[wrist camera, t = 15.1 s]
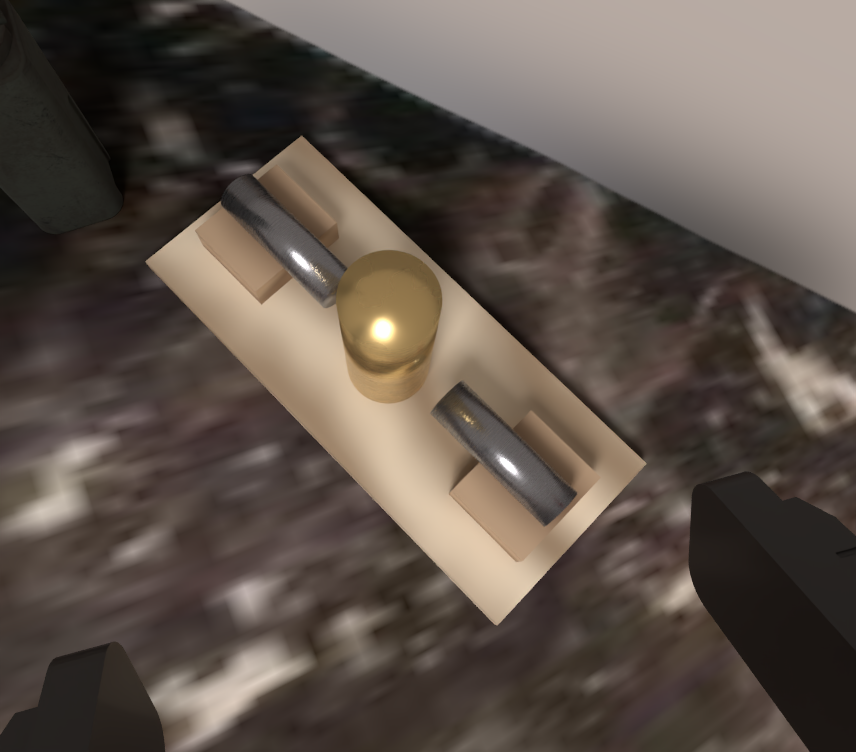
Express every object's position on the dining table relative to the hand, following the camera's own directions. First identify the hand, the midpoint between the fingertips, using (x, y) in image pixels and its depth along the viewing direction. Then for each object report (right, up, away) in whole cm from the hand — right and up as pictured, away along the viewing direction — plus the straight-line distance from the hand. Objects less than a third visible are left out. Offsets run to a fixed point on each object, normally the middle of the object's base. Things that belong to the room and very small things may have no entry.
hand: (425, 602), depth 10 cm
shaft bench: (-2, +4, +33) cm, 33 cm away
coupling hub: (-2, +4, +32) cm, 32 cm away
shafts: (-2, +4, +30) cm, 30 cm away
